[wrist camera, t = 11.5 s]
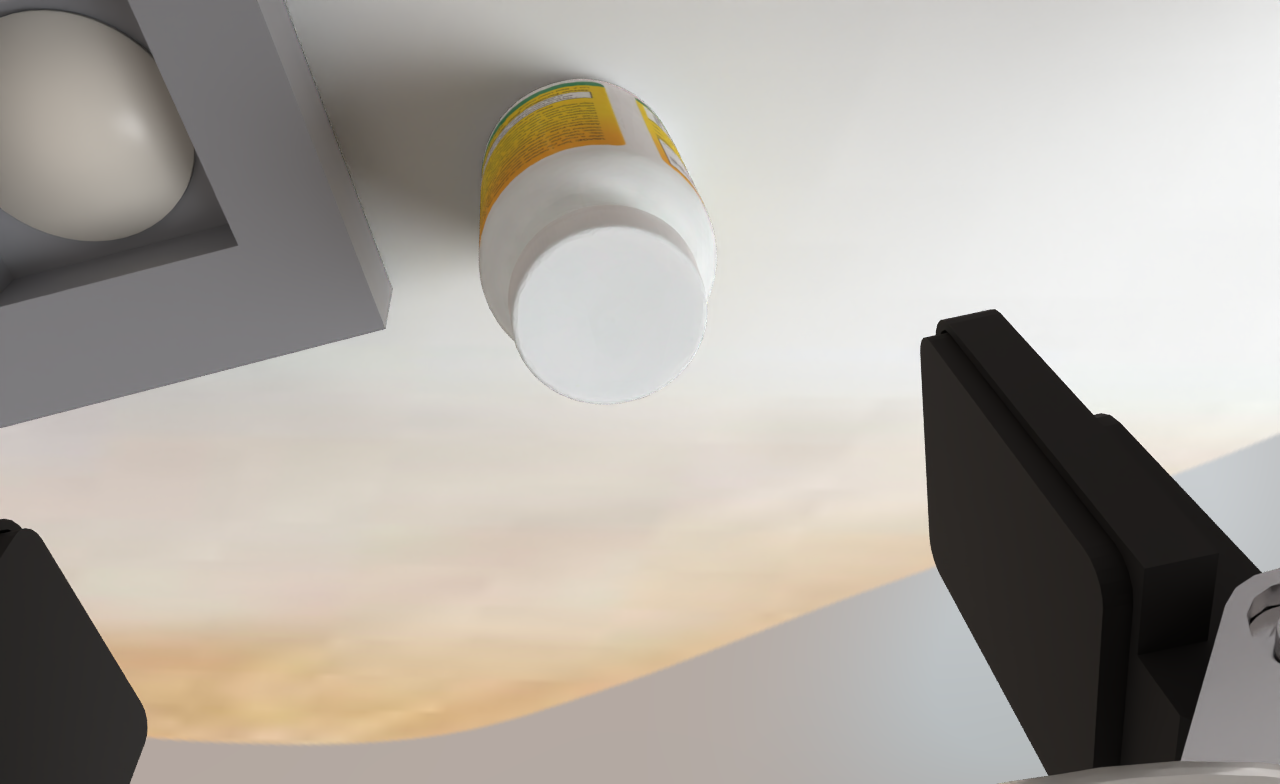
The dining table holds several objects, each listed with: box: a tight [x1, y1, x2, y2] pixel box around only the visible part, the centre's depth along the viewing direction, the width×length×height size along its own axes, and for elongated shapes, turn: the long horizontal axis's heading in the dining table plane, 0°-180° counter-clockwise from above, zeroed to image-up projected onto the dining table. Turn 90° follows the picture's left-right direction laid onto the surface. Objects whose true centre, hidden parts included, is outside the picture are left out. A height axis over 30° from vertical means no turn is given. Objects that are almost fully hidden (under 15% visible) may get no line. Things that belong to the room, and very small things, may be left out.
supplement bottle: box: [479, 79, 717, 404], centre depth 25 cm, size 5×5×10 cm
